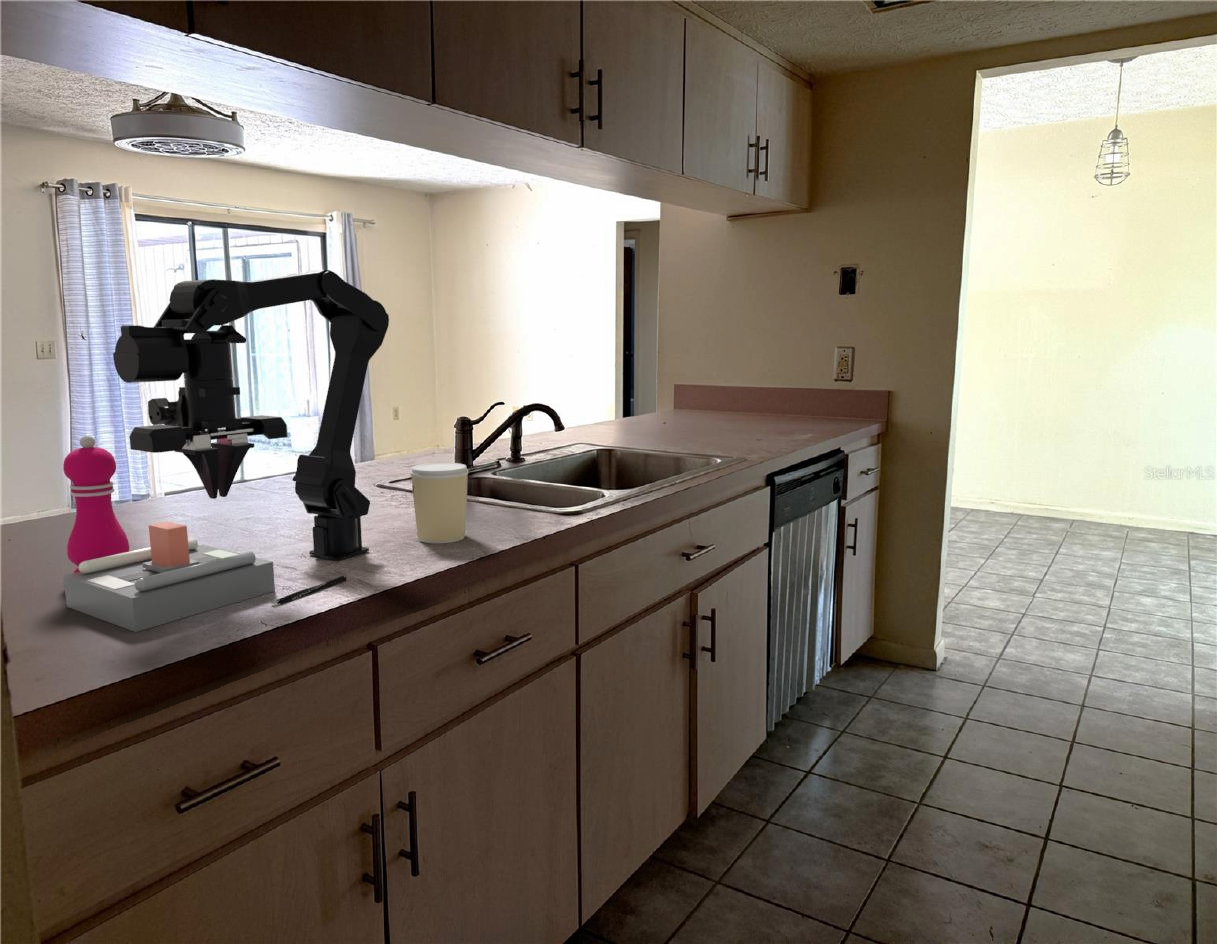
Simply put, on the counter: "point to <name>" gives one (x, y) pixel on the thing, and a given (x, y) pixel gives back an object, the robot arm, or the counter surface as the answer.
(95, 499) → the pepper mill
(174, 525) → the lever
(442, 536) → the coffee cup
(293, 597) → the black thin rod
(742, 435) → the counter surface
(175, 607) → the box
